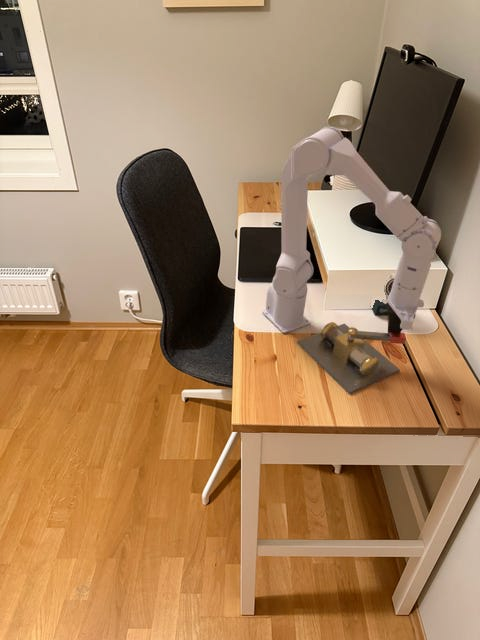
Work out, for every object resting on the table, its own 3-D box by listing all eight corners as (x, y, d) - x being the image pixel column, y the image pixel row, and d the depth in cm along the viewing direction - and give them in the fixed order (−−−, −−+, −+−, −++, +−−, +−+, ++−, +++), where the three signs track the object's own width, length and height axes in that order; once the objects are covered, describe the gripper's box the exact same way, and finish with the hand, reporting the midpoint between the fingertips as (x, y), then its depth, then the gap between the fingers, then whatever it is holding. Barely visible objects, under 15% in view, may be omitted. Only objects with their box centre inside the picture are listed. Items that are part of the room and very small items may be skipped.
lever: (346, 342, 96) (348, 332, 95) (345, 336, 98) (347, 327, 96) (403, 346, 96) (406, 337, 94) (401, 340, 97) (404, 331, 96)
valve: (296, 342, 103) (299, 326, 100) (344, 325, 109) (347, 309, 106) (349, 394, 91) (354, 377, 88) (399, 371, 97) (405, 354, 94)
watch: (377, 320, 111) (387, 282, 104) (368, 301, 118) (377, 264, 111) (399, 320, 112) (411, 282, 105) (389, 301, 118) (400, 265, 111)
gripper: (436, 305, 83) (416, 359, 91) (424, 265, 94) (407, 317, 103) (397, 300, 84) (381, 355, 92) (389, 261, 95) (375, 313, 103)
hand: (392, 335), depth 97 cm, fingers closed
